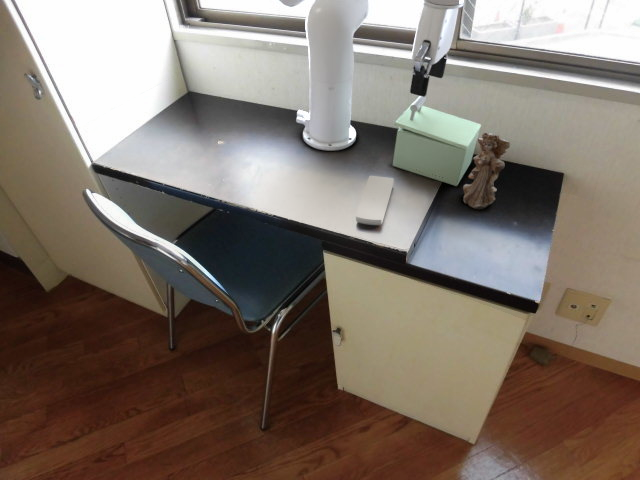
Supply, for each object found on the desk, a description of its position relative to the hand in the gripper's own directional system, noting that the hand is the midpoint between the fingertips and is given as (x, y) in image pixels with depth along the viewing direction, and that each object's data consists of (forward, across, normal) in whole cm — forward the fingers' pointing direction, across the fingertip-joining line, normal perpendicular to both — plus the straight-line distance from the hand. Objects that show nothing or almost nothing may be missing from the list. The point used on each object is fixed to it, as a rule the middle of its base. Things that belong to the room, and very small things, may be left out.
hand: (426, 85), depth 96 cm
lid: (+7, +1, +4) cm, 9 cm away
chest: (+17, +1, +5) cm, 18 cm away
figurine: (+17, +9, +17) cm, 25 cm away
